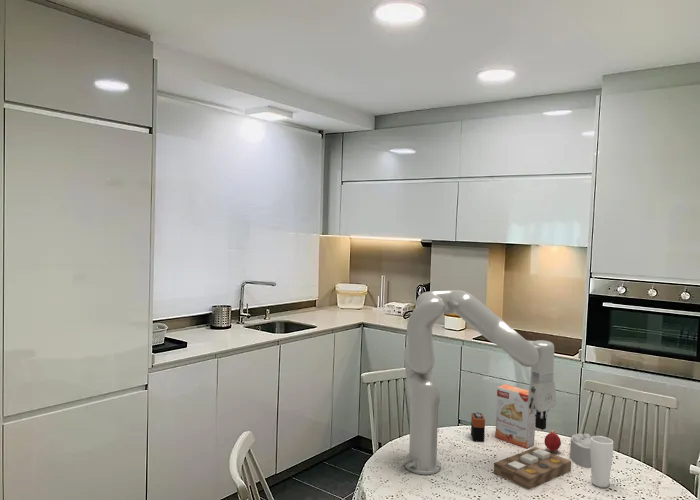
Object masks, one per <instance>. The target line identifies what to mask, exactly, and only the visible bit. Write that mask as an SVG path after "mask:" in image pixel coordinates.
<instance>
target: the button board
mask: <svg viewBox="0 0 700 500" xmlns="http://www.w3.org/2000/svg"><path fill="white" fill-rule="evenodd" d="M538 449H541V450H544V449H542V448H539V447H537V446H536V447H535V446H534V447H532V448H530V449H528V450H525V451H522V452H519V453H517V454H514V455H511V456H509V457H506V458H504V459H500V460H498V461H495V462H493V474H495V475H497V476H499V477H501V478H503V479H505V480H507V481H510V482H512V483H514V484H515V485H518V486H520V487H522V488H525V489H526V490H529V491H530V490H532V489H534V488H536V487H539V486H541V485H543V484H546V483H547V482H549V481H552V480H553V479H556V478H558V477H561V476H562V475H564V474H568V473H570V472H571V471H572V460H571V459H567V458H565V457H563V456H559V455H557V454H554V453H553V452H551V451H547V450H544V451H546V452H549V453H550V457H549V458H547V459H544V460H542V459H540V458H538V462H537V463H534V464H532V465H530V464H528V463H526V462H523V461H521V460H520V456H522V455H525V454H530V455H532V453H533V451H535V450H538ZM514 461H517V462H519V463H522V464H524V465H526V467H525V468H522V469H520V470H517V469H515V468H513V467H510V466H508V463H511V462H514Z"/></svg>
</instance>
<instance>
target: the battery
mask: <svg viewBox="0 0 700 500" xmlns="http://www.w3.org/2000/svg"><path fill="white" fill-rule="evenodd" d="M470 420H471V423H470V424H471V425H470V436H471V439H472V441H473V442H480V443H483V442H485V434H486V432H485V430H486V418H485V416H484V414H483V413H480V411H476V412H472V413H471V419H470Z"/></svg>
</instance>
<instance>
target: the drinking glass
mask: <svg viewBox="0 0 700 500" xmlns="http://www.w3.org/2000/svg"><path fill="white" fill-rule="evenodd" d="M590 454H591V468H590V473H591V475H590V476H591V478H590V479H591V480H590V481H591V484H592V485H594V487H595V486H596V487H598V488H608V487H609V485H610V478H611V477H610V476H611V469H612V463H613V455H614V440H613V439H611V438H609V437H607V436H601V435H593V436H591V446H590Z"/></svg>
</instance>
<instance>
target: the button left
mask: <svg viewBox="0 0 700 500" xmlns="http://www.w3.org/2000/svg"><path fill="white" fill-rule="evenodd" d="M508 466H510V467H513V468H515V469H517V470H520V469H522V468H525V467H526V465H524V464H522V463H519V462H517V461H514V462H511V463H508Z"/></svg>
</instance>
